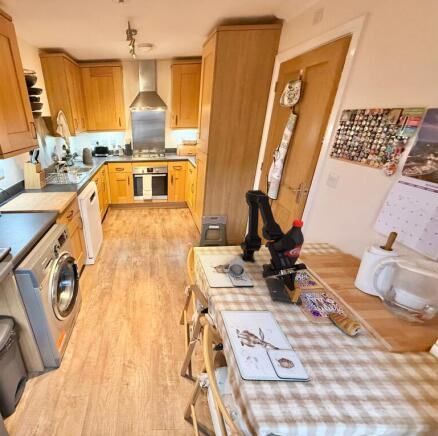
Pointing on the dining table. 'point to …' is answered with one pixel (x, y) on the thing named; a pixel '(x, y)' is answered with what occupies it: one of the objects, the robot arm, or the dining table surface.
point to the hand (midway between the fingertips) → (292, 290)
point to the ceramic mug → (235, 267)
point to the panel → (280, 292)
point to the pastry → (346, 324)
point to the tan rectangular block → (294, 292)
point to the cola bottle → (298, 238)
